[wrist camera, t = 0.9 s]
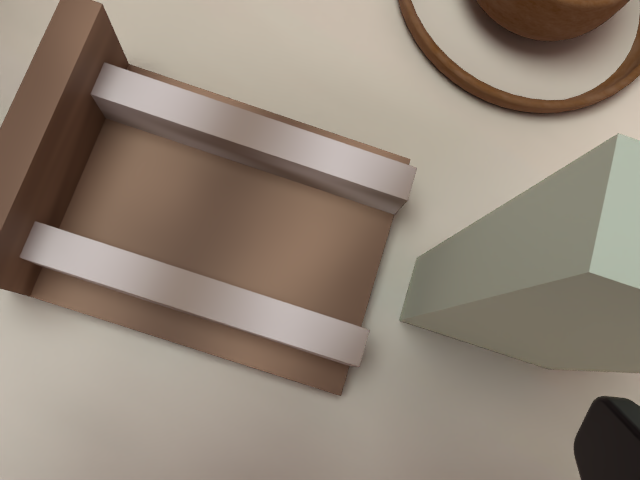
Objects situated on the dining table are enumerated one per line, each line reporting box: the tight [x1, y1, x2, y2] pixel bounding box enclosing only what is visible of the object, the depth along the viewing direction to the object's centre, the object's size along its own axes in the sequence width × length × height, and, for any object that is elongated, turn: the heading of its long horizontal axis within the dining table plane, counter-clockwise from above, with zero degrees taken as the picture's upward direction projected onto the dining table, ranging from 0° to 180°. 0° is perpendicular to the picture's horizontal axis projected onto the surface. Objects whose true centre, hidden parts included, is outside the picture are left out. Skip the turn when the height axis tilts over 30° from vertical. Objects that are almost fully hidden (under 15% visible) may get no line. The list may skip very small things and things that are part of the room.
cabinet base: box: [0, 0, 417, 396], centre depth 20 cm, size 12×9×5 cm
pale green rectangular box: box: [400, 133, 640, 373], centre depth 16 cm, size 6×2×13 cm, turn 73°
